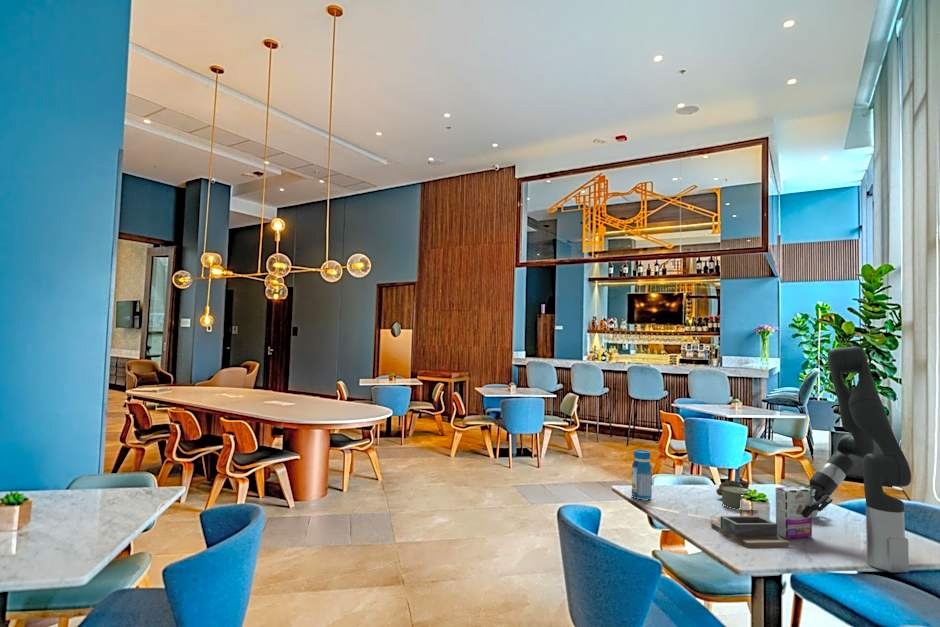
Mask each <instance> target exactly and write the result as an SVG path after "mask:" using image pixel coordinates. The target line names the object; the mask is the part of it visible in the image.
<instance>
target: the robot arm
mask: <svg viewBox="0 0 940 627" xmlns="http://www.w3.org/2000/svg"><path fill="white" fill-rule="evenodd" d="M827 364H828V368H829V372H830V376H831V380H832V384H833V388H834V391H835V394H836V398H837V402H838V407H839V412H840V413H839V414H840V421H841V426H842V428H843V429H844V430H845V431H847V432H849V433H850V434H849V433H848V434H844V435H843V436H841V437H840V438H839V439H838V442H837V443H836V446H835V449H834V451H833V454H832V455H831V456H830V457H829V458H828V460H827V461H826V462H825V463H824V464H823V465H821V466H820V467H819V468H818V470H816V472H815V473H814V474H813V475H812V476H811V477H810V479H809V480H808V481H809V484H808V485H807V486H804V487H805V488H808V489H811V498H810V503H809V506H807V507H806V508H805V509H804V510H803V511H802V512H801V514H802V516H803V517H805V518H807V517H808V516H810V514H811V513H812V512H813V511H816V510H818V511H820V512H822V511H823V510H824V509H825V508H827V506H829V505H830V504H831V503H832V502H833V499H832V497H831V495H832V494H833V493H834V492H835V491H836V490H837V489H838V487H839V486H840V485H841V484H842V483H843V482H844V480H845V478H846V476H847V475H849V473H850V472H851V471H852V470H853V468H854V467H855V463H854V461H853V459H852V458H851V457H850V456H855V457H857V458H862V474H863V486H864V487H863V490H864V496H865V522H866V523H865V524H866V525H865V526H866V530H865V532H866V534H865V535H866V536H865V537H866V562H867V564H868V565H869V566H871V567H873V568H876V569H880V570H884V571H886V572H889V573H909V572H910V563H909V562H910V561H909V559H910V557H909V553H910V552H909V539H908V538H906V534H905V532H906V531H905V530H906V529H905V527H906V526H905V504H904V502H903V500H901V499H899V498H897V497H894V496H891V495H889V494H887V493H886V492H884V489H883V486H888V487H899V488H900V487H902V488H903V487H904V488H905V487H908V486H909V485H910V484H911V482H912V472H911V467H910V465H909V461H908V460H907V459H906V457H905V454H904V452H903V450H902V448H901V446H900V444H899V442H898V441H897V439H896V436H895V434H894V431H893V428H892V426H891V423H890V421H889V418H888V415H887V411H886V409H885V406H884V404H883V402H882V399H881V397H880V395H879V393H878V390H877V387H876V385H875V382H874V379H873V376H872V372H871V368H870V365H869V361H868V359H867V355H866V353H865V351H864V349H863V348H862V347H861V346H846V347H845V346H844V347H835V348H829V350H828V352H827ZM856 373H857V374H858V380H857V384H856V386H855V387H854V389H853V391H851V389H850V388H848V386H847V385H846V383H845V381H844V379H843V374H856ZM874 442H875V443H874ZM875 444H877V446H878V447H879V448H880V450H881V452H882V453H883V454H882V453H874V452H875ZM798 486H801V487H803V486H802V485H798ZM820 504H822V505H821V506H820ZM821 510H822V511H821Z"/></svg>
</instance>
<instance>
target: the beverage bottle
mask: <svg viewBox="0 0 940 627" xmlns="http://www.w3.org/2000/svg"><path fill="white" fill-rule="evenodd" d="M633 458H634V461H633V462H632V465H631V467H632V470H631V497H632V496H633V497H634V498H637V499H636V500H638V499H642V500H641V501H649V500H648V499H650V500H652V498H653V496H652V488H653V487H652V486H653V484H652V482H653V478H652V477H653V472H652V469H653V466H652V464H651V462H650V461H649V460H651V452H650V451H649V450H644V449H635V450H634V452H633ZM633 497H632V498H633ZM634 498H633V499H634Z"/></svg>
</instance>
